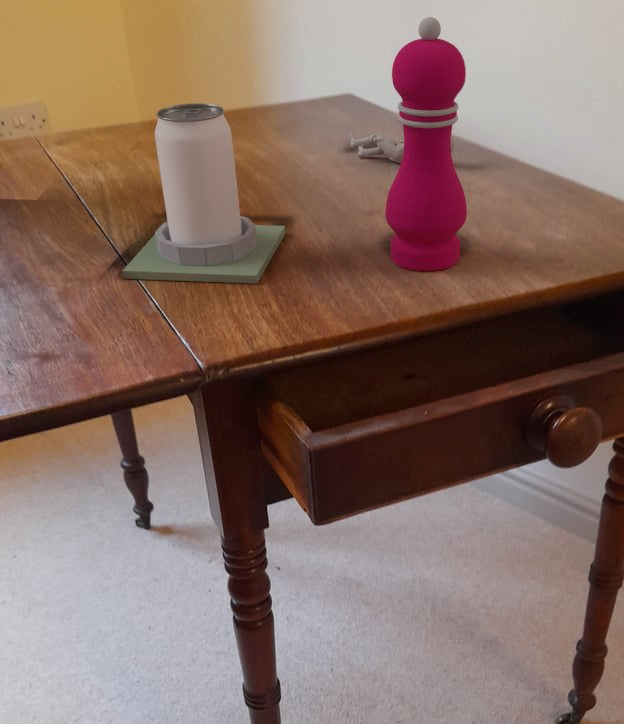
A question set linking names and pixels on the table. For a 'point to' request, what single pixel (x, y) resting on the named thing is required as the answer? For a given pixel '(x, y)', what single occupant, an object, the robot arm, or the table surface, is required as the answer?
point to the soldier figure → (381, 146)
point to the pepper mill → (427, 154)
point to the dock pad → (210, 273)
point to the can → (198, 174)
